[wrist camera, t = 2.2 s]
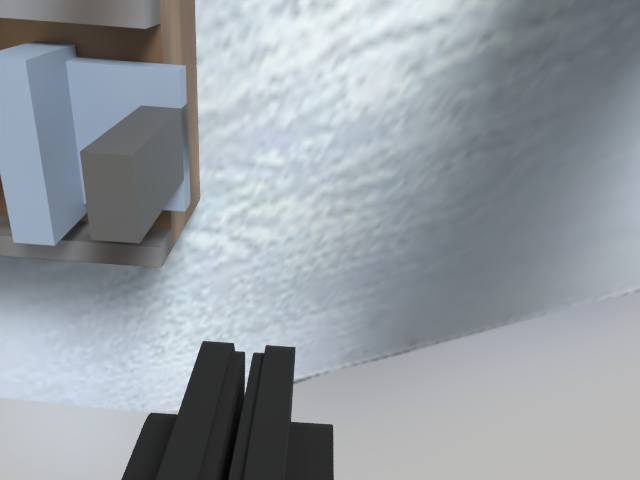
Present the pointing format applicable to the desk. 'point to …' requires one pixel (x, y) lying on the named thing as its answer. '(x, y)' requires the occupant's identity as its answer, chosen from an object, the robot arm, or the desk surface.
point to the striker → (90, 143)
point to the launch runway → (112, 44)
